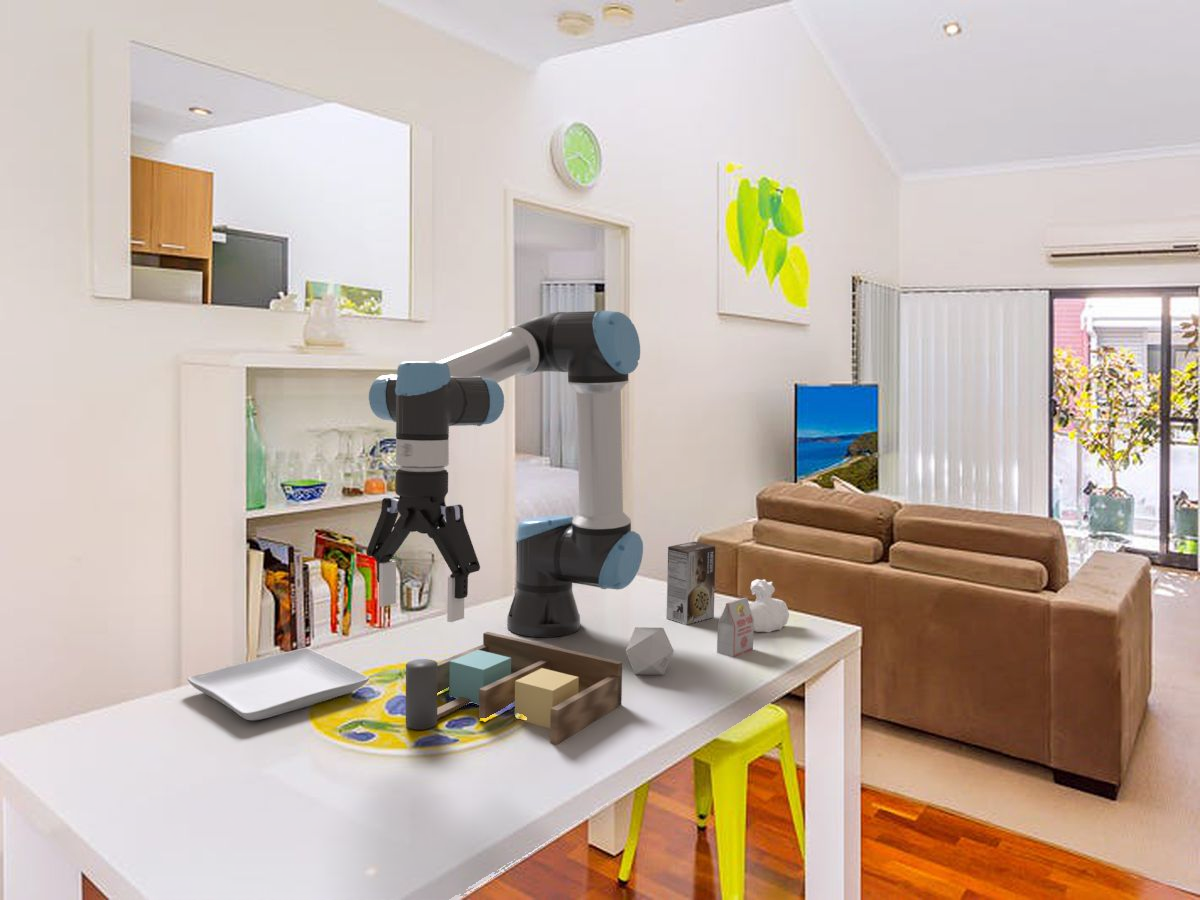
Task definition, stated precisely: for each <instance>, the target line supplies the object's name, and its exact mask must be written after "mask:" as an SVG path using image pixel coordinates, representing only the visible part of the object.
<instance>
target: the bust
mask: <svg viewBox="0 0 1200 900" xmlns="http://www.w3.org/2000/svg"><path fill="white" fill-rule="evenodd" d="M773 583H774V582H773V581H767V580H766V579H759V578H756V579H754V580H752V581H751V584H750V590H751V594H752V596H754V595H755V597H756V598H755V601H753V602H751V603H749V607H750V610H751V613H752V616H753V618H754V631H753V632H756V633H767V632H769V633H771V632H775V631H778V630H779V631H780V630H782V628H783V627H784V626H786V624H788V620H789V616H790V613H789V608H788V606H787V603H786V602H785V601H784V600H782V599H779V598H773V597H772V595H773V594H774V592H775V591H776V590H775V587H774V586H773Z"/></svg>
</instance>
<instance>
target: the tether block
mask: <svg viewBox="0 0 1200 900" xmlns="http://www.w3.org/2000/svg"><path fill="white" fill-rule="evenodd" d="M510 674H511V658H510V657H506V656H502V655H498V654H494V653H489V652H485V651H481V650H476V651H474V652H471V653H469V654H466V655H464V656H461V657H459V658H456V659H454V660H451V661H450V685H449V691H448V692H449V696H452V697H456V698H458V699H453V700H452V701H449V702H448V703H444V704H442V705H440V706H438V696H437V661H436V660H433V659H429V658H424V659H423V658H422V659H419V658H418V659H414V660H409V661H408V662H407V663H405V726H406V727H407V728H408V727H409V729H411V728H412V730H418V729H420V730H426V729H425V728H428V729H430V728H431V729H432V728H433V727H435V726H436V725H437V724H438V719H441V718H443V717H445V716H447V715H449V714H451V713H453V712H456V711H458V710H459V708H460V709H462V708H463V707H462V706H464V707H466V706H467V705H466V704H468V703H469V702H473V703H477V704H479V689H480V688H482V687H484V686H487V685H489V684H491V683H493V682H495V681H497V680H500V679H502V678H504V677H506V676H508V675H510ZM465 705H466V706H465ZM468 705H469V704H468ZM461 707H462V708H461ZM457 709H458V710H457ZM455 710H456V711H455ZM452 711H453V712H452ZM450 712H451V713H450ZM442 716H443V717H442ZM440 717H441V718H440Z"/></svg>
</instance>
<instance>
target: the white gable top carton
mask: <svg viewBox="0 0 1200 900" xmlns="http://www.w3.org/2000/svg"><path fill="white" fill-rule="evenodd" d="M749 605H750V603H749V598H748V597H742V598H739V599H736V600H733V601H729V602H727V603H725V607H724V609H723V611H722V614H721V615H720V617H719V620H718V621H717V641H716V653H717V654H720V655H724V656H727V657H731V658H734V657H737V656H740V655H743V654H745V653H748V652H750V651H752V649H753V650H754V632H755V631H754V618H753V616H752V613H751V610H750V607H749ZM747 651H748V652H747ZM742 653H743V654H742Z"/></svg>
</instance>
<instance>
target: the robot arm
mask: <svg viewBox="0 0 1200 900" xmlns="http://www.w3.org/2000/svg"><path fill="white" fill-rule="evenodd" d="M640 342H641V341H640V337H639V333H638V330H637V329H636V326H635V324H634V323H633V322H632V319H631V318H630V317H629V316H628V315H627V314H624V312H623V313H622V312H620V311H612V310H611V311H610V310H604V309H603V310H594V311H593V310H591V311H590V310H589V311H587V310H586V311H567V312H566V311H556V312H551V313H550V312H549V313H546V314H542V315H539V316H536V317H534V318H531V319H528V320H526V321H523V322H521V323H519V324H516V325H513V326H510V327H508V328H506V329H505V330H504V331H502V332H501V334H500V335H499V336H498V337H497V338H495V339H492V340H489V341H486V342H485V343H482V344H479V345H477V346H474V347H472V348H470V349H467V350H465V351H462V352H459V353H456V354H454V355H450V356H449V357H447V358H444V359H441V360H439V361H414V360H413V361H407V360H406V361H402V362H401V363H399V365H398V366H397V371H396V373H391V374H386V375H385V374H384V375H380V376H379V377H376V379H375V380H374V381H373V382H372V384H371V385H370V388H369V390H368V402H369V403H368V404H369V406H370V409H371V411H372V413H373V414H374V415H375V416H376V417H377V418H379V419H381V420H385V421H391V422H394V423H395V465H396V466H398V467H399V468H398V469H397V470H396V471H395V478H394V479H395V481H394V482H395V486H394V488H395V489H394V490H395V491H394V492H395V494H396V495H397V496H391V497H384V498H382V500H381V501H382V502H381V509H380V510H381V511H380V514H379V517H378V519H377V523H376V524H375V527H374V530H373V532H372V535H371V537H370V541H369V543H368V545H367V548H366V555H367V557H372V558H373V559H374V561H375V562H376V580H377V583H378V587H379V588H378V590H379V591H378V595H379V596H378V606H379V607H382V608H384V607H388V606H390V605H391V606H392V605H395V604H396V603H397V560H393V559H396V557H395V555H396V553H397V552H398V550H399V548H400V547H401V545H403V543H404V541H405V540H406V539H407V538H408V536H409V534H410V533H414V532H417V533H419V534H425V535H427V536H428V537H429V538H431V539H432V540H433V542H434V544H435V545H436V547H437V550H438V551H439V552H440V554H441V556H442V557H443V559H444V561H445V563H446V565H447V566H448V568H449V570H450V572H451V574H449V575H448V576H447V610H446V611H447V614H446V615H447V616H446V617H447V619H446V620H447V622H449V623H454V622H457V621H460V620H463V619H465V598H467V597H468V595H469V594H468V593H469V592H468V591H469V590H468V588H469V586H468V585H469V575H470V574H472V573H475V572H479V571H480V569H481V566H480V562H479V559H478V557H477V554H476V550H475V547H474V546H473V542H472V540H471V537H470V533H469V531H468V528H467V526H466V521H465V518H464V517H465V516H464V507H463V505H462V504H460V503H459V504H455V505H447V504H446V501H445V498H446V496H447V494H449V472H448V470H447V469H445V467H446V468H447V467H448V466H449V464H450V463H449V461H450V460H449V457H450V456H449V454H450V453H449V443H450V441H449V440H450V439H449V437H450V435H449V434H450V427H451V426H452V427H457V426H458V427H459V426H462V427H463V426H464V427H465V426H466V427H467V426H478V427H481V426H482V425H489V424H493V423H495V422H496V421H497V420H498V419H499V418H500V417H501V415H502V414H503V410H504V407H505V395H504V391H503V389H502V387H501V386H500V384H499V383H500V382H503V381H505V380H507V379H509V378H511V377H513V376H514V377H515V376H518V377H519V376H520V377H525V376H528V375H531V374H533V373H540V372H558V373H567V383H568V385H569V386H571V388H572V389H574V390H575V392H576V425H577V426H576V428H577V429H576V430H577V437H576V438H577V463H578V464H577V465H578V466H577V467H578V468H577V470H578V472H577V473H578V499H579V500H578V502H579V503H578V504H579V505H578V506H579V507H578V509H579V511H578V513H577V515H576V516H572V515H569V514H567V515H566V514H564V515H563V514H559V515H558V514H557V515H547V516H538V517H532V518H527V519H524V520H522V521H521V522H519V523H518V525H517V533H516V540H515V543H516V573H515V574H516V575H515V576H516V579H515V580H516V582H515V583H516V585H515V587H516V588H515V593H514V596H513V599H512V602H511V605H510V607H509V610H508V614H507V620H506V621H507V624H506V625H507V629H508V630H509V631H511V632H512V633H513V634H517V635H520V636H524V637H532V638H533V637H534V638H554V637H562V636H567V635H568V636H569V635H571V634H573V633H575V632H578V631H579V629H580V628H581V615H580V613H579V609H578V606H577V603H576V598H575V595H574V591H573V584H576V585H577V584H578V585H584V586H589V587H595V588H600V589H601V590H607V589H609V590H615V591H616V590H617V591H619V590H623V589H624V588H626V587H628V586H629V585H630V584H631V583H632V582H633V580H635V578H636V576H637V574H638V572H639V570H640V567H641V565H642V560H643V555H644V554H643V553H644V543H643V542H644V541H643V539H642V537H641V535H640V534H639V533H637V531H634V530H633V531H632V527H631V526H632V520H631V518H630V516H628V514H626V513H625V512H624V509H623V508H624V504H623V503H624V499H623V497H624V496H623V495H624V493H623V446H622V445H623V443H622V442H623V440H622V438H623V437H622V392H621V391H622V389H623V388H624V387H625V386H626V385H627V384H628V383H629V374H631V373H633V372H634V371H635V370H636V369H637V368H638V365H639V361H640V358H641V343H640ZM398 496H399V497H398ZM398 515H400V516H398ZM397 518H398V519H397Z"/></svg>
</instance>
